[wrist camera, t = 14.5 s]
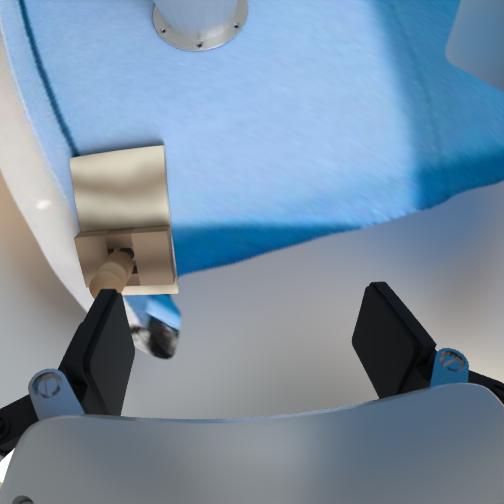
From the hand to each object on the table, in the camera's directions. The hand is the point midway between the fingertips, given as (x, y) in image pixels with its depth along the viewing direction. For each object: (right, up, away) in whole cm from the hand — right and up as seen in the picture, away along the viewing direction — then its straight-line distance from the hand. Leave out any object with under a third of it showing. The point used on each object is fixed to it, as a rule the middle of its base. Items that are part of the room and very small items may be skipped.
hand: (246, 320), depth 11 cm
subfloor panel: (-18, +6, +31) cm, 36 cm away
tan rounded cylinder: (-18, +2, +31) cm, 36 cm away
